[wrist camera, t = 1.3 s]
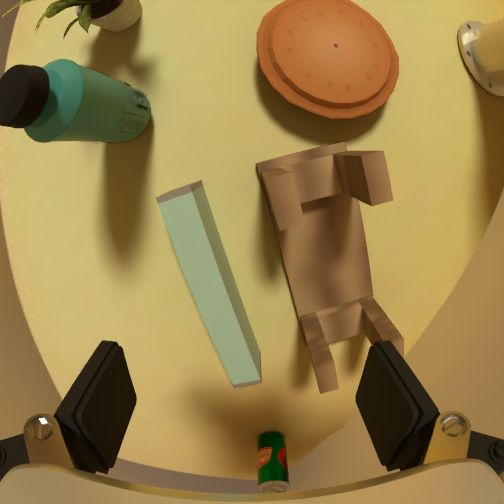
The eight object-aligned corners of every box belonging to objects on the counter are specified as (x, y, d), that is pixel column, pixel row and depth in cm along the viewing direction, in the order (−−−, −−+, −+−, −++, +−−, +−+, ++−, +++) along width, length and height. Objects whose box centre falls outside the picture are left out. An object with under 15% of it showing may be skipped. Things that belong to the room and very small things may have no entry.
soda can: (265, 427, 44) (268, 483, 33) (289, 433, 45) (296, 487, 34) (252, 440, 46) (252, 493, 34) (275, 446, 47) (279, 497, 35)
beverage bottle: (168, 116, 29) (63, 77, 10) (126, 156, 30) (-1, 171, 11) (136, 79, 27) (24, 23, 8) (97, 119, 29) (-31, 107, 10)
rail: (201, 180, 31) (190, 185, 26) (260, 353, 39) (261, 382, 33) (172, 189, 32) (155, 197, 26) (236, 358, 39) (234, 387, 33)
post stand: (342, 142, 30) (383, 137, 19) (373, 321, 37) (404, 371, 27) (255, 163, 31) (257, 167, 20) (304, 342, 38) (319, 400, 28)
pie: (327, 150, 30) (340, 149, 26) (226, 57, 27) (222, 41, 22) (407, 74, 27) (428, 65, 22) (317, -11, 23) (325, -31, 19)
